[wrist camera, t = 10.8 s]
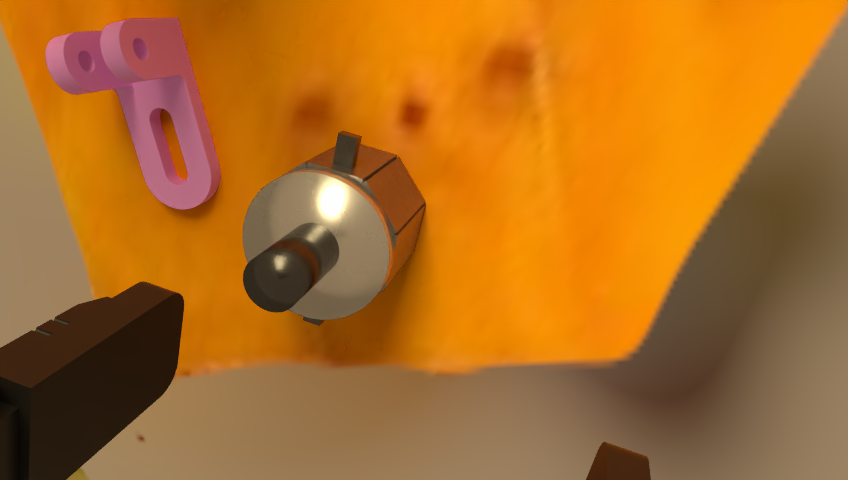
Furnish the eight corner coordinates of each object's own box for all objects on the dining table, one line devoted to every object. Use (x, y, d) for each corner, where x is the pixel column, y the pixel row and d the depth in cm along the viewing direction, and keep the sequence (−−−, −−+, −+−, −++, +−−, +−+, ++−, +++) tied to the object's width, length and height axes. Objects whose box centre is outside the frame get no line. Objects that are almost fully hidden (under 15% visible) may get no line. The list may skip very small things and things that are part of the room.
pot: (316, 102, 46) (269, 117, 39) (442, 139, 44) (415, 161, 38) (286, 270, 50) (241, 308, 44) (400, 307, 49) (370, 352, 43)
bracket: (112, 33, 48) (37, 37, 42) (179, 17, 46) (111, 18, 40) (166, 208, 51) (104, 236, 45) (230, 199, 50) (175, 227, 43)
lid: (261, 150, 40) (199, 176, 34) (408, 191, 39) (371, 226, 32) (244, 287, 43) (184, 333, 37) (378, 329, 42) (340, 385, 36)
